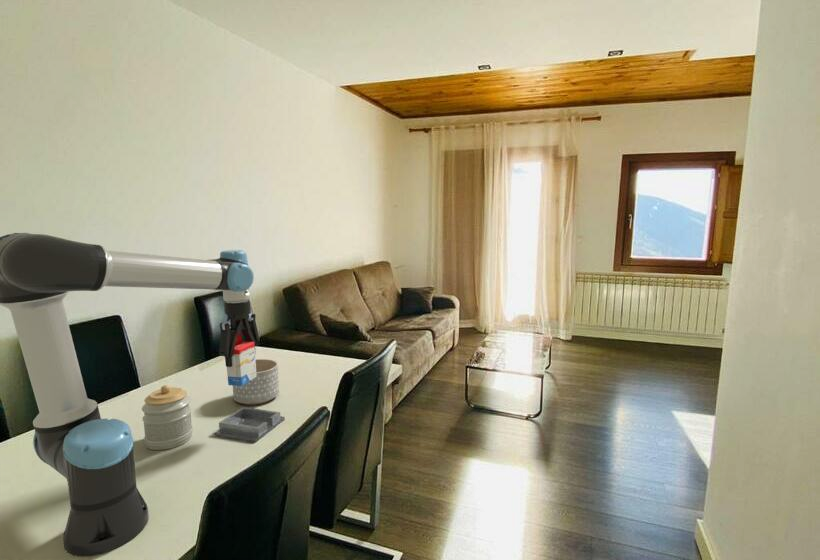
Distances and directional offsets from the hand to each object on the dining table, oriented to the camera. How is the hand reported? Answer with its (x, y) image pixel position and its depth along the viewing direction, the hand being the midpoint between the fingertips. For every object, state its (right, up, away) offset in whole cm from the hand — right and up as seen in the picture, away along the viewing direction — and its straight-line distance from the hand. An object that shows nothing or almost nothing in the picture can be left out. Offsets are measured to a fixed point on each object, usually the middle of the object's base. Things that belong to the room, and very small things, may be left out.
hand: (242, 370), depth 135 cm
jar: (-21, -21, -3) cm, 30 cm away
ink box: (0, -4, +1) cm, 4 cm away
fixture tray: (+1, -20, +5) cm, 20 cm away
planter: (-6, -17, +29) cm, 34 cm away
